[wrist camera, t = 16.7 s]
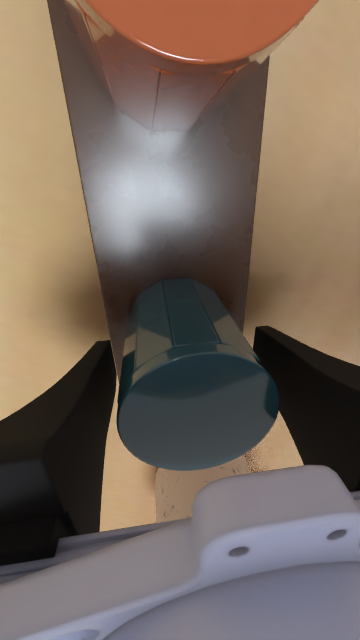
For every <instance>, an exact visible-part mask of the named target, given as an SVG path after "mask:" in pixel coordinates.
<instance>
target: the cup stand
mask: <svg viewBox="0 0 360 640" xmlns="http://www.w3.org/2000/svg"><path fill="white" fill-rule="evenodd" d="M47 3H48V8H49V13H50V19H51V24H52V29H53V34H54V40H55V45H56V50H57V56H58V61H59V66H60V72H61V77H62V82H63V88H64V93H65V98H66V104H67V109H68V114H69V120H70V125H71V130H72V136H73V141H74V146H75V151H76V157H77V162H78V167H79V173H80V178H81V183H82V189H83V194H84V199H85V205H86V210H87V215H88V221H89V226H90V231H91V237H92V242H93V247H94V252H95V258H96V263H97V268H98V274H99V279H100V284H101V290H102V295H103V300H104V306H105V311H106V316H107V322H108V327H109V332H110V338H111V343H112V348H113V354H114V359H115V364H116V369H117V375H118V380H119V384H120V377H121V368H122V360H123V352H124V344H125V335H126V327H127V319H128V315H129V313H130V311H131V309H132V307H133V305H134V303H135V301H136V298H137V296H138V295H139V294H140V293H142V292H143V291H145V290H146V289H148V288H149V287H151V286H152V285H154V284H156V283H157V282H159V281H160V280H163V279H177V278H192V279H194V280H196V281H198V282H200V283H202V284H204V285H206V286H208V287H210V288H212V289H213V290H214V291H215V293H216V294H217V296H218V297H219V299H220V300H221V302H222V303H223V305H224V306H225V308H226V309H227V311H228V312H229V314H230V315H231V317H232V318H233V320H234V321H235V323H236V325H237V326H238V328H239V329H240V331H241V332H242V334H243V327H244V316H245V306H246V296H247V285H248V275H249V264H250V254H251V244H252V233H253V223H254V213H255V202H256V192H257V181H258V171H259V161H260V150H261V140H262V130H263V119H264V109H265V99H266V88H267V78H268V67H269V57H270V55H269V56H268V57H267V58H266V59H265V60H264V61H263V62H262V63H261V64H260V65H259V66H258V67H257V68H256V69H255V70H254V71H253V72H252V73H251V74H250V75H249V76H248V77H247V78H246V79H245V80H244V81H243V82H242V84H241V85H240V86H239V87H238V88H237V89H236V90H235V91H234V92H233V93H232V94H231V95H230V96H229V97H228V98H227V99H226V100H225V101H224V102H223V103H222V104H221V105H220V106H219V107H218V108H217V109H216V110H214V111H213V112H212V113H210V114H209V115H208V116H206V117H205V118H204V119H202V120H201V121H200V122H198V123H197V124H196V125H194V126H193V127H192V128H190V129H187V130H184V131H152V130H149V129H147V128H146V127H144V126H143V125H141V124H140V123H138V122H137V121H135V120H134V119H132V118H131V117H129V116H128V115H126V114H125V113H123V112H122V111H120V110H119V109H118V108H117V107H116V106H115V104H114V103H113V101H112V99H111V98H110V96H109V94H108V92H107V91H106V89H105V87H104V86H103V84H102V82H101V80H100V79H99V77H98V75H97V73H96V72H95V70H94V68H93V67H92V65H91V62H90V60H89V58H88V56H87V53H86V51H85V49H84V46H83V44H82V42H81V40H80V37H79V35H78V33H77V30H76V28H75V26H74V24H73V21H72V19H71V17H70V15H69V12H68V10H67V8H66V5H65V3H64V1H63V0H47Z"/></svg>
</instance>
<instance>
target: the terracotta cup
mask: <svg viewBox="0 0 360 640" xmlns="http://www.w3.org/2000/svg"><path fill="white" fill-rule="evenodd" d="M63 1H64V3H65V5H66V8H67V10H68V12H69V15H70V17H71V19H72V21H73V24H74V26H75V28H76V30H77V33H78V35H79V37H80V40H81V42H82V44H83V46H84V49H85V51H86V53H87V56H88V58H89V60H90V62H91V65H92V67H93V68H94V70H95V72H96V73H97V75H98V77H99V79H100V80H101V82H102V84H103V86H104V87H105V89H106V91H107V92H108V94H109V96H110V98H111V99H112V101H113V103H114V104H115V106H116V107H117V108H118V109H119V110H120V111H122V112H123V113H125V114H126V115H128V116H129V117H131V118H132V119H134V120H135V121H137V122H138V123H140V124H141V125H143V126H144V127H146V128H147V129H149V130H152V131H184V130H187V129H190V128H192V127H193V126H194V125H196V124H197V123H198V122H200V121H201V120H202V119H204V118H205V117H206V116H208V115H209V114H210V113H212V112H213V111H214V110H216V109H217V108H218V107H219V106H220V105H221V104H222V103H223V102H224V101H225V100H226V99H227V98H228V97H229V96H230V95H231V94H232V93H233V92H234V91H235V90H236V89H237V88H238V87H239V86H240V85H241V84H242V82H243V81H244V80H245V79H246V78H247V77H248V76H249V75H250V74H251V73H252V72H253V71H254V70H255V69H256V68H257V67H258V66H259V65H260V64H261V63H262V62H263V61H264V60H265V59H266V58H267V57H268V56H269V55H270V54H271V53H272V52H273V51H274V50H275V49H276V48H277V47H278V46H279V45H280V44H281V43H282V41H283V40H284V39H285V38H286V37H287V36H288V35H289V34H290V33H291V32H292V31H293V30H294V29H295V28H296V27H297V26H298V25H299V23H300V22H301V21H302V20H303V19H304V17H305V16H306V14H307V13H308V12H309V11H310V10H311V9H312V8H313V7H314V6H315V5H316V3H317V2H318V1H319V0H63Z"/></svg>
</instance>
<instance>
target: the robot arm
mask: <svg viewBox="0 0 360 640" xmlns="http://www.w3.org/2000/svg"><path fill="white" fill-rule="evenodd" d="M253 350H254V352H255V353H256V355H257V356H258V358H259V360H260V361H261V363H262V364H263V365H264V366H265V368H266V369H267V370H268V372H269V373H270V375H271V376H272V378H273V379H274V381H275V383H276V386H277V388H278V392H279V411H280V413H281V415H282V417H283V419H284V421H285V423H286V425H287V427H288V429H289V431H290V433H291V436H292V438H293V440H294V442H295V445H296V447H297V449H298V452H299V454H300V456H301V458H302V461H303V463H304V465H303V466H297V467H290V468H283V469H276V470H269V471H262V472H255V473H248V474H242V475H235V476H228V477H225V478H222V479H218V480H215V481H212V482H210V483H209V484H208V485H206V486H205V487H203V488H202V489H201V490H199V491H198V493H197V494H196V496H195V499H194V501H193V503H192V517H190V518H185V519H179V520H172V521H166V522H160V523H153V524H147V525H141V526H134V527H128V528H122V529H116V530H109V531H103V532H99V530H100V511H101V495H102V481H103V468H104V457H105V446H106V439H107V432H108V427H109V422H110V418H111V413H112V408H113V402H114V397H115V392H116V376H117V373H116V368H115V363H114V357H113V352H112V347H111V341H110V340H105V341H97V342H96V343H95V344H94V345H93V346H92V347H91V349H90V350H89V351H88V352H87V353H86V354H85V355H84V356H83V357H82V359H81V360H80V361H79V362H78V363H77V364H76V365H75V366H74V367H73V368H72V369H71V370H70V371H69V372H68V373H67V374H66V375H65V376H63V377H62V378H61V379H60V380H59V381H58V382H57V383H56V384H54V385H53V386H52V387H51V388H49V389H48V390H47V391H46V392H44V393H43V394H42V395H40V396H39V397H37V398H36V399H34V400H33V401H32V402H30V403H29V404H27V405H26V406H24V407H23V408H21V409H20V410H18V411H16V412H15V413H13V414H11V415H10V416H8V417H6V418H5V419H3V420H1V421H0V640H360V366H357V365H354V364H351V363H348V362H345V361H343V360H340V359H337V358H335V357H332V356H329V355H327V354H325V353H322V352H320V351H318V350H316V349H314V348H311V347H309V346H307V345H305V344H303V343H301V342H299V341H297V340H295V339H293V338H291V337H289V336H288V335H286V334H284V333H282V332H280V331H278V330H276V329H274V328H272V327H269V326H258V327H256V328H255V336H254V344H253Z"/></svg>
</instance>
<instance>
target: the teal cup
mask: <svg viewBox="0 0 360 640" xmlns="http://www.w3.org/2000/svg"><path fill="white" fill-rule="evenodd" d="M278 411H279V392H278V388H277V386H276V383H275V381H274V379H273V378H272V376H271V375H270V373H269V372H268V370H267V369H266V368H265V366H264V365H263V364H262V363H261V361H260V360H259V358H258V356H257V355H256V353H255V352H254V350H253V349H252V347H251V346H250V344H249V343H248V341H247V340H246V338H245V337H244V335H243V334H242V332H241V331H240V329H239V328H238V326H237V325H236V323H235V321H234V320H233V318H232V317H231V315H230V314H229V312H228V311H227V309H226V308H225V306H224V305H223V303H222V302H221V300H220V299H219V297H218V296H217V294H216V293H215V291H214V290H213V289H212V288H210V287H208V286H206V285H204V284H202V283H200V282H198V281H196V280H194V279H192V278H177V279H163V280H160V281H159V282H157V283H156V284H154V285H152V286H151V287H149V288H148V289H146V290H145V291H143V292H142V293H140V294H139V295H138V296H137V298H136V301H135V303H134V305H133V307H132V309H131V311H130V313H129V315H128V319H127V327H126V335H125V344H124V352H123V360H122V368H121V377H120V385H119V393H118V410H117V421H116V422H117V430H118V433H119V436H120V438H121V440H122V442H123V444H124V446H125V447H126V448H127V449H128V451H130V452H131V453H132V454H133V455H134V456H135V457H137V458H138V459H140V460H141V461H143V462H145V463H147V464H149V465H152V466H155V467H158V468H162V469H167V470H174V471H194V470H202V469H208V468H212V467H216V466H219V465H222V464H225V463H228V462H230V461H232V460H234V459H236V458H238V457H240V456H242V455H244V454H245V453H247V452H248V451H250V450H251V449H252V448H254V447H255V446H256V445H257V444H258V443H259V442H260V441H261V440H262V439H263V438H264V437H265V436H266V435H267V434H268V432H269V431H270V429H271V428H272V426H273V424H274V422H275V420H276V418H277V414H278Z"/></svg>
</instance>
